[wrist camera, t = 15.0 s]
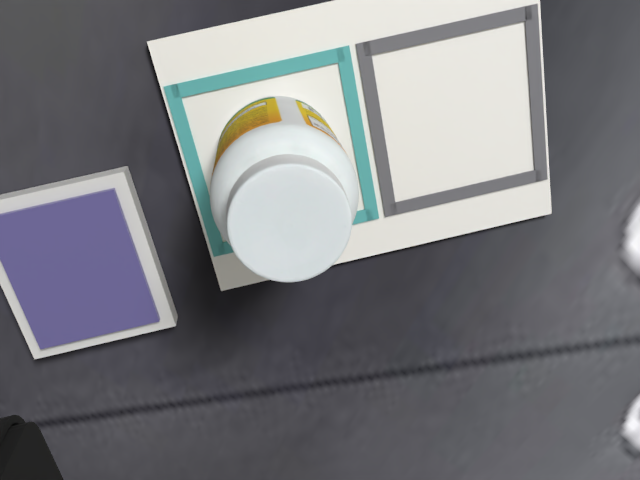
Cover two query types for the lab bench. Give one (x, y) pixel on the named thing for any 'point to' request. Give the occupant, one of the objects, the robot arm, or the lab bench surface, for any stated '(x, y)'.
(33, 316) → the ink pad
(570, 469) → the lab bench surface
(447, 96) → the print sheet
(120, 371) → the lab bench surface
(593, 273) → the lab bench surface
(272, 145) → the supplement bottle
